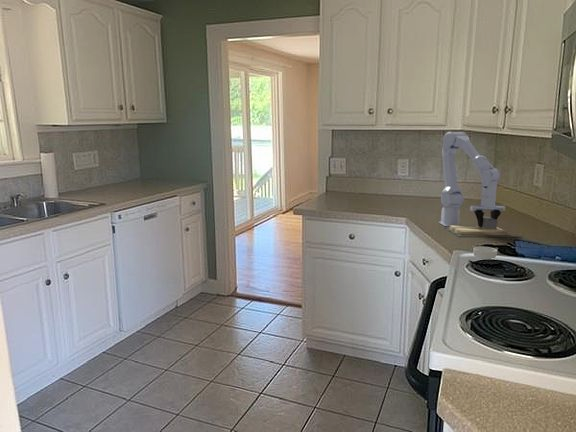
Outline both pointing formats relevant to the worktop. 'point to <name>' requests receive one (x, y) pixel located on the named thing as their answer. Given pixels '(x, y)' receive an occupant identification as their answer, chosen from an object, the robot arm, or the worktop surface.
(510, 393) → the worktop surface
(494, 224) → the block
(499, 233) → the pine board
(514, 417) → the worktop surface
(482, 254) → the teacup
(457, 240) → the worktop surface
